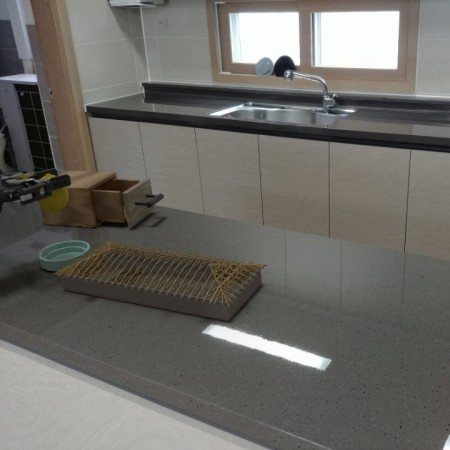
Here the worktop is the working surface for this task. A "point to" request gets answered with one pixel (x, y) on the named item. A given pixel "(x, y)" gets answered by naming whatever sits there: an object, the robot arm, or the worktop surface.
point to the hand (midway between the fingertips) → (62, 176)
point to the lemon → (54, 198)
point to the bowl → (63, 254)
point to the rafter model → (166, 266)
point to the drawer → (124, 200)
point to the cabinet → (79, 200)
